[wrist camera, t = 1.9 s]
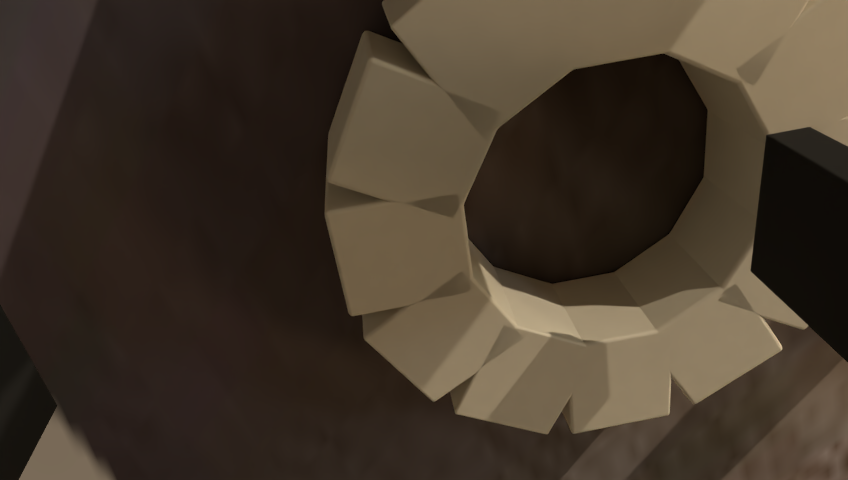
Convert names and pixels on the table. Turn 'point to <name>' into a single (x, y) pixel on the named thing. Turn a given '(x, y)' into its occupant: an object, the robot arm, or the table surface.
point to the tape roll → (586, 297)
